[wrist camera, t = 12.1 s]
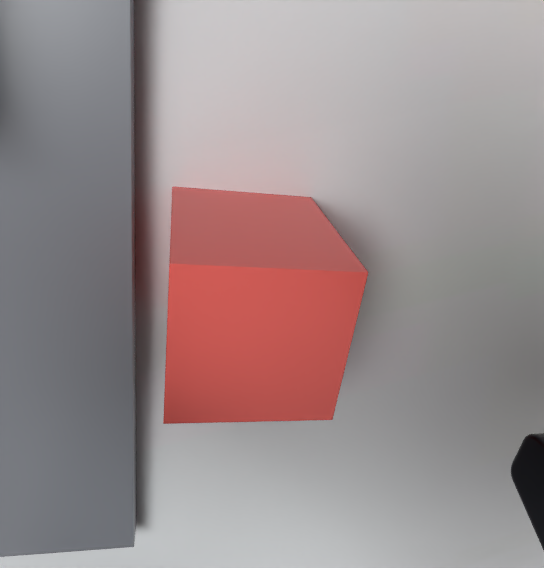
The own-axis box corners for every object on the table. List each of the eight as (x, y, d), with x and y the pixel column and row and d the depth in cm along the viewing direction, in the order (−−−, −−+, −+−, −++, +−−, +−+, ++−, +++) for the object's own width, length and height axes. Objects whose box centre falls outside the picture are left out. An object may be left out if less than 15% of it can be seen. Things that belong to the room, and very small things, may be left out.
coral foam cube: (310, 196, 14) (368, 272, 10) (290, 312, 16) (332, 419, 12) (172, 186, 13) (169, 263, 9) (167, 309, 15) (163, 423, 11)
